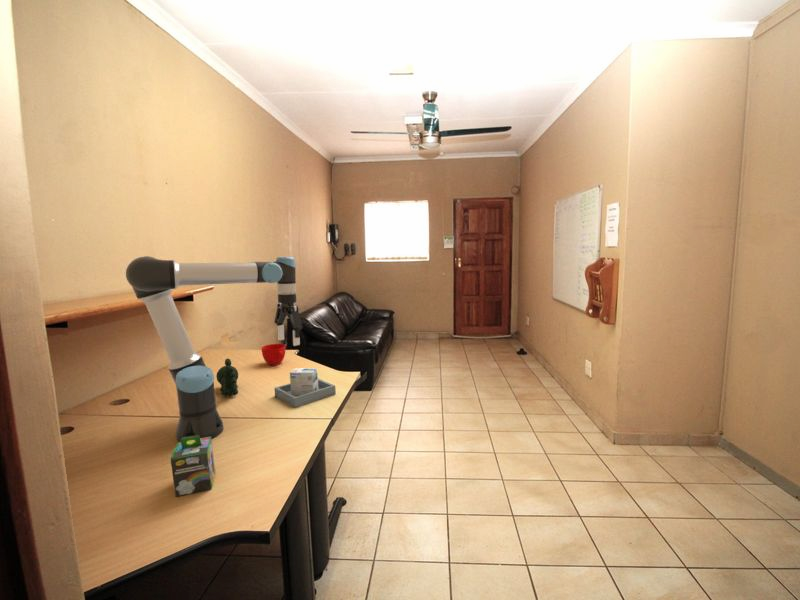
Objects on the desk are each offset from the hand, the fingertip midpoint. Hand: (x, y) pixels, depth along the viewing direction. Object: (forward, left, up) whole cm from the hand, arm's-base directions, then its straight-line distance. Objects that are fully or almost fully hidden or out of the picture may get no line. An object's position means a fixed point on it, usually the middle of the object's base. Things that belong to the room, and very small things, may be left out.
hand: (288, 342), depth 167 cm
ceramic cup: (+19, +52, -25) cm, 61 cm away
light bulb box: (+6, -2, -24) cm, 25 cm away
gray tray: (+6, -2, -25) cm, 26 cm away
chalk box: (-50, -38, -25) cm, 68 cm away
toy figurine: (-16, +28, -25) cm, 41 cm away
